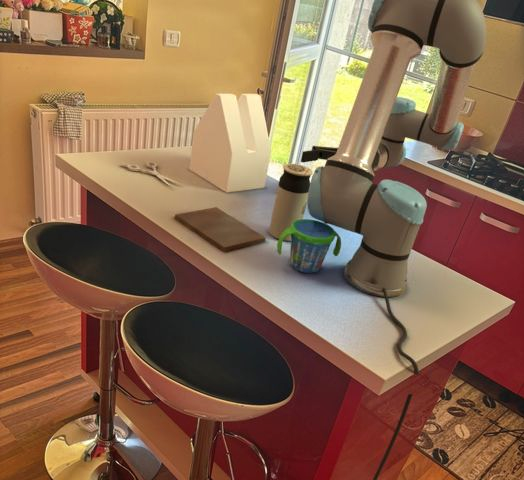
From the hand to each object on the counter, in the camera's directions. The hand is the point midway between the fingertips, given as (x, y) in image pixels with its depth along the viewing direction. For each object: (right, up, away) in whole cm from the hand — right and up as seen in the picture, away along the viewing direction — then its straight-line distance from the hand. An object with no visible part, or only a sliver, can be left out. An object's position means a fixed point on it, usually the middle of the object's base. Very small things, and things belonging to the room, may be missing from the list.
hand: (321, 166), depth 142 cm
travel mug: (-10, -17, +4) cm, 20 cm away
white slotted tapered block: (-27, +6, +31) cm, 42 cm away
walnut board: (-27, -17, -1) cm, 32 cm away
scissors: (-48, +4, +22) cm, 53 cm away
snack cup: (-5, -28, -9) cm, 30 cm away
